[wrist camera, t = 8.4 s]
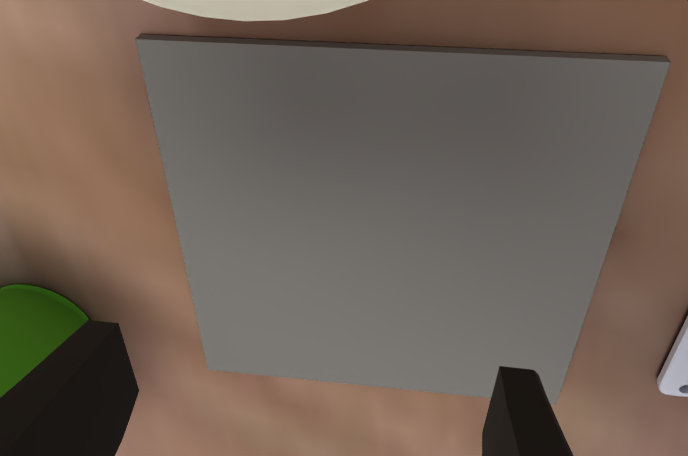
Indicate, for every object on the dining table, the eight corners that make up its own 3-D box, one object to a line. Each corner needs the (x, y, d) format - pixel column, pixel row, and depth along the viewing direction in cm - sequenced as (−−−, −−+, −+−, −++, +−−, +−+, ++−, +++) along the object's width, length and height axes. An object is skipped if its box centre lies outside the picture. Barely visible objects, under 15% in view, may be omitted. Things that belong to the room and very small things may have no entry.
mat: (666, 56, 17) (670, 62, 17) (554, 396, 26) (555, 404, 26) (140, 34, 18) (135, 39, 18) (210, 362, 28) (208, 369, 27)
